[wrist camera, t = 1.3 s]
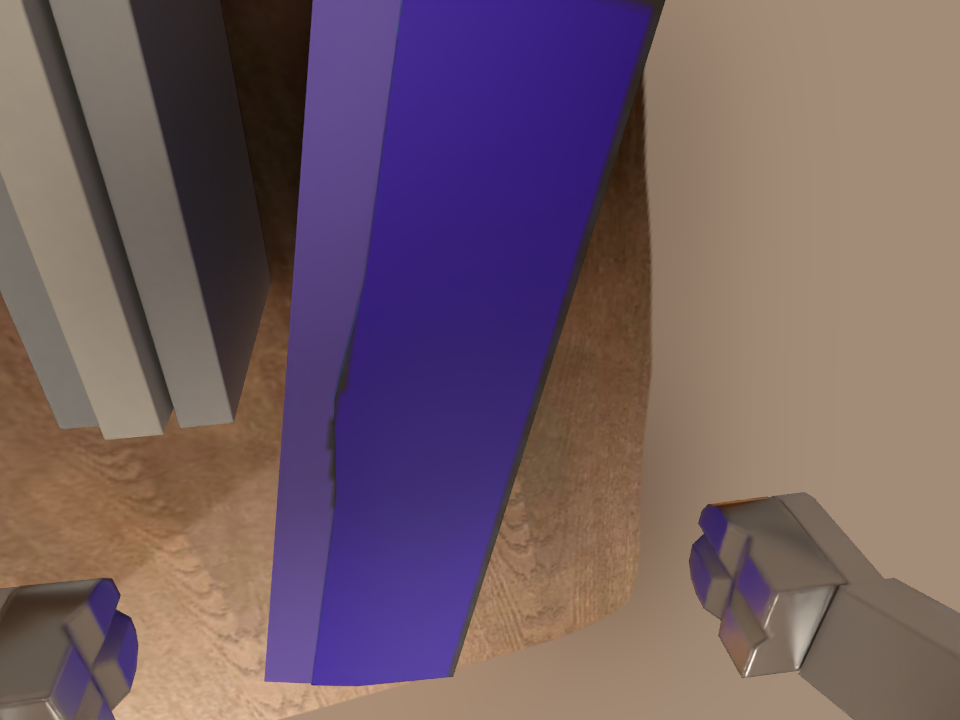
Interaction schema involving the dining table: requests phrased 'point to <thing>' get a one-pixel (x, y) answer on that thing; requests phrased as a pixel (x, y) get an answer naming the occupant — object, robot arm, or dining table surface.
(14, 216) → the grey books
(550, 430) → the dining table surface
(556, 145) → the cereal box
